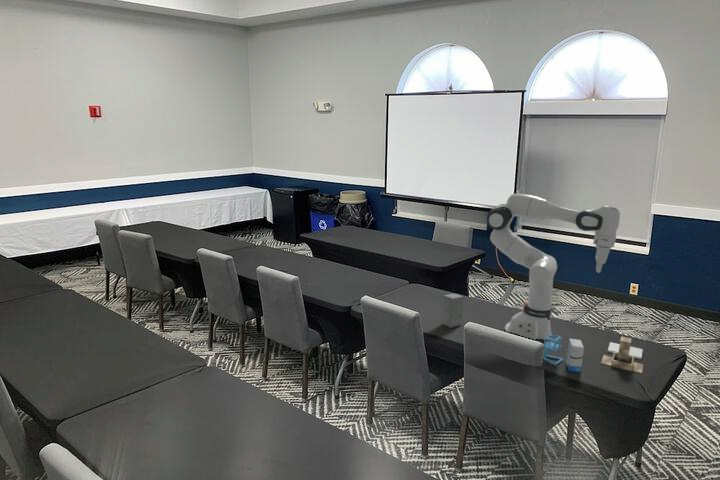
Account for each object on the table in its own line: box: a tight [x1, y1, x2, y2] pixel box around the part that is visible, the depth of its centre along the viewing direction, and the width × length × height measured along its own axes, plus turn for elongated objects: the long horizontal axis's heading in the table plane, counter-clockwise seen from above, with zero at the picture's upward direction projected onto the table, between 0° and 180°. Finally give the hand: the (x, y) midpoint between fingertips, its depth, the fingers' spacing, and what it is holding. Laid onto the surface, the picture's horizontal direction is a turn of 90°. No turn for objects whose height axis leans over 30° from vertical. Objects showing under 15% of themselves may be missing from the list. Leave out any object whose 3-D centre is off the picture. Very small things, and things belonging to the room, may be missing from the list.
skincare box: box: [441, 293, 464, 329], centre depth 269 cm, size 8×7×16 cm
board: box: [607, 341, 644, 360], centre depth 244 cm, size 14×10×1 cm
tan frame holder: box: [600, 352, 644, 375], centre depth 232 cm, size 16×9×3 cm, turn 59°
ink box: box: [565, 338, 585, 373], centre depth 227 cm, size 8×5×12 cm, turn 168°
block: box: [616, 336, 632, 363], centre depth 231 cm, size 4×5×12 cm
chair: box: [542, 334, 564, 367], centre depth 234 cm, size 8×8×12 cm
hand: (597, 271), depth 240 cm, fingers open, 8 cm apart
